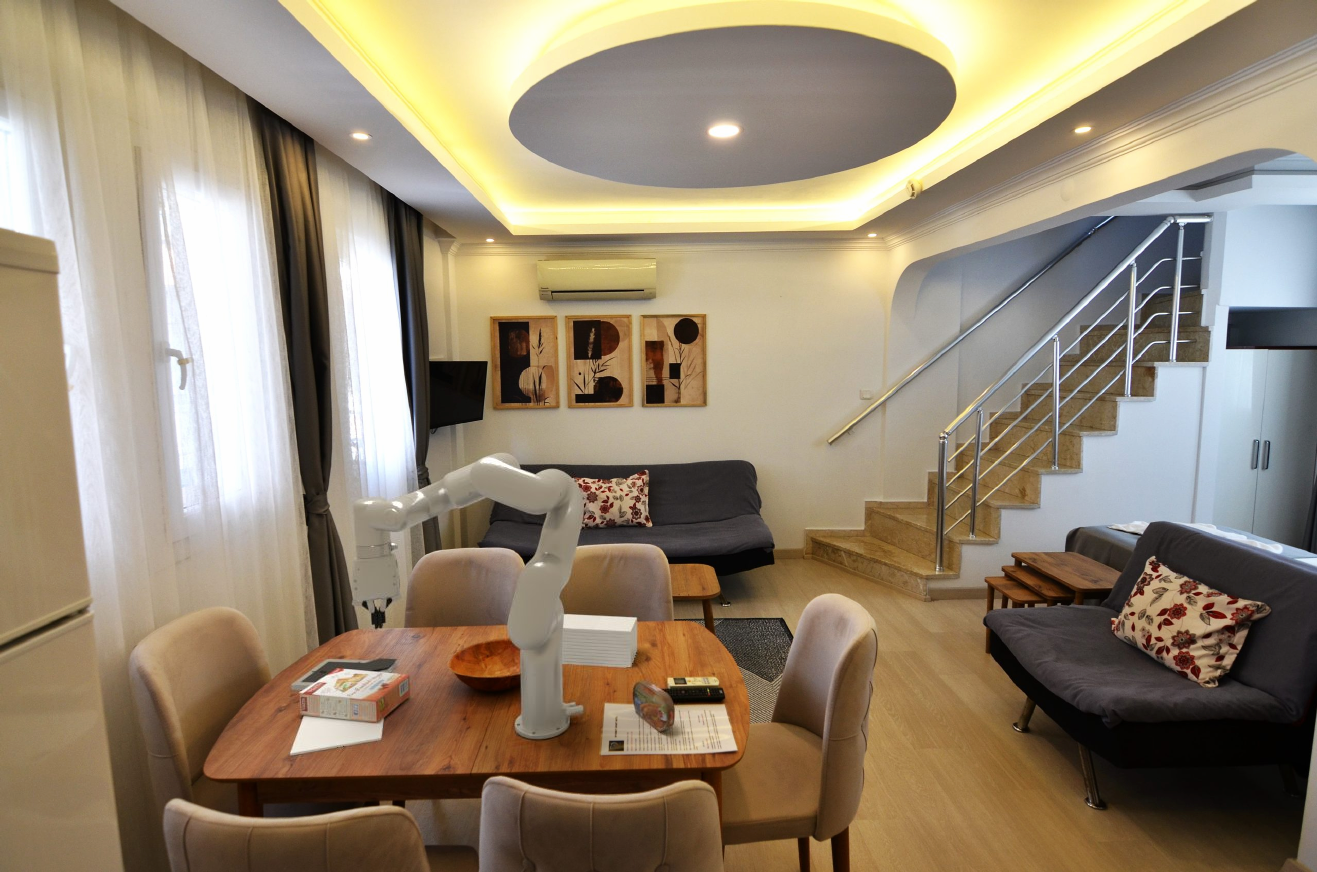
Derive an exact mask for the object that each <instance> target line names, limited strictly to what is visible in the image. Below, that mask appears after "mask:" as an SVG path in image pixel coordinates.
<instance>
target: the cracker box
mask: <svg viewBox="0 0 1317 872" xmlns="http://www.w3.org/2000/svg"><path fill="white" fill-rule="evenodd" d="M410 678H411V677H410V674H405V673H397V672H395V673H393V672H391V673H384V672H373V671H362V670H351V669H341V668H337V669H335V670H334V671H332V672H331V673H329V674H328V675H326V676H325V677H323V678H321V679H320V680H318V681H317V682H315V683H314V684H312V685H310V686H309V687H307V688H306V689H304V690H302V691H299V693H298V694H299V695H298V697H299V715H301V716H304V715H309V716H319V717H329V718H338V719H348V720H358V721H368V722H379V721H380V720H381V719H382V718H384V719H385V717H386V716H387V715H388V714H389V713H391V712H392V711H393V710H394V709H396V708H397V707H398V706H400V704H402V703H403V702H404V701H405V700H407V699H408V698H409V697H410V696H411V683H410V682H411V681H410V680H411V679H410Z"/></svg>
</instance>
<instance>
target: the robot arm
mask: <svg viewBox="0 0 1317 872" xmlns="http://www.w3.org/2000/svg"><path fill="white" fill-rule="evenodd" d="M486 498H487V499H490V500H493V501H495V502H498V503H500V504H501V505H502V504H503V505H505V506H508V507H511V508H513V509H516V510H519V511H522V512H525V513H526V514H531V515H543V514H546V516H545V520H544V522H543V525H542V530H541V532H540V538H539V541H538V544H537V549H536V551H535V554H534V556H533V557H532V558H530V560H529V561H528V562H527V563H526V564H525V565H524V567H523V569H522V570H521V572H520V573H519V576H518V579H517V582H516V586H515V589H514V595H513V599H512V603H511V605H510V610H509V614H508V619H507V626H506V628H507V629H506V630H507V634H508V637H509V639H510V641H511V643H512V644H513V645H514V646H515V647H516V648H518V649H520V651H519V652H520V654H519V655H520V656H519V657H520V663H519V664H520V694H521V695H520V702H521V703H520V705H521V706H520V709H521V710H520V711H521V714H520V715H519V716H518V717H517V718H516V719H515V721H514V731H515V732H516V734H518V735H519V736H521V737H523V738H525V739H530V740H545V739H550V738H553V737H556V736H559V735H561V734H562V733H565V731H566V730H567V729H568V728H569V726H570V725H571V724H570V722H571V721H570V720H571V719H570V717H571V716H573V715H575V716H576V715H582V714H584V706H583V704H580V705H576V702H575V701H573V702H572V701H571V702H569V703H566V702H564V700H563V698H564V697H563V696H564V693H563V664H562V636H563V624H564V614H565V611H564V609H565V608H564V606H563V602H562V600H561V599H560V595H561V593H562V590H563V589H564V588H565V586H566V585H567V584H568V582H569V580H570V578H571V574H572V568H573V564H574V560H575V556H576V551H577V547H578V542H579V538H580V534H581V530H582V529H581V528H582V525H583V521H584V509H585V507H584V506H585V505H584V498H583V494H582V492H581V489H580V488H579V485H578V484H577V483H576V481H575V480H574V479H573V478H572V477H571V476H570V475H569V474H568V473H566V472H565V471H563V470H560V469H557V468H547V469H544V470H541V471H539V472H537V473H536V474H535V473H532V472H530V471H527V470H525V469H524V470H523V469H521V466H520V463H519V461H518V460H517V458H516V457H515V456H514V455H512V454H510V453H507V452H496V453H493V454H489V455H486V456H484V457H482V458H480V459H479V460H477V461H474V462H473V463H470V464H468V465H465V466H463V467H460V468H458V469H456V470H453V471H451V472H449V473H447V474H445V475H444V477H443V478H442V479H440V480H438V481H436V482H434V483H432V484H429V485H427V486H425V487H423V488H420V489H417V490H414V491H412V492H409V493H407V494H404V495H401V496H399V497H397V498H396V497H395V498H392V499H389V500H387V499H386V498H384V497H380V496H379V497H378V496H376V497H375V496H372V497H364V498H360V499H357V500H356V501H354V503H353V506H352V507H353V508H352V510H353V512H352V513H353V524H354V525H353V526H354V528H353V529H354V541H355V553H356V554H355V555H356V556H355V557H353V560H352V569H351V570H352V571H351V590H352V594H351V595H352V601H351V605H352V606H354V607H363V608H364V609H366V610H367V612H369V613H370V618H371V619H370V620H371V626H374V629H375V630H377V629H383V626H384V624H386V623H387V620H386V618H387V617H386V609H387V608H388V607H389V606H390V605H391V604H392V603H395V602H397V601H400V600H401V599H402V598H403V597H402V596H403V595H402V592H401V582H400V581H401V580H400V573H399V572H400V571H399V570H400V569H399V565H398V564H399V563H398V560H397V556H396V555H397V554H396V553H395V552H393V551H395V550H398V547H399V546H398V545H399V544H398V543H397V542H395V543H393V542H392V540H391V539H392V538H391V533H398V532H399V533H400V532H403V531H404V532H405V530H408V529H410V528H413V527H414V526H416V525H418V524H420V523H422V522H425V521H427V520H429V519H431V518H434V517H437V516H439V515H441V514H443V513H446V512H449V511H451V510H454V509H462V508H466V507H468V506H470V505H472V504H475V503H477V502H479V501H482V500H484V499H486ZM375 600H380V604H379V605H380V606H378V608H377V606H376V603H375Z"/></svg>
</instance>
